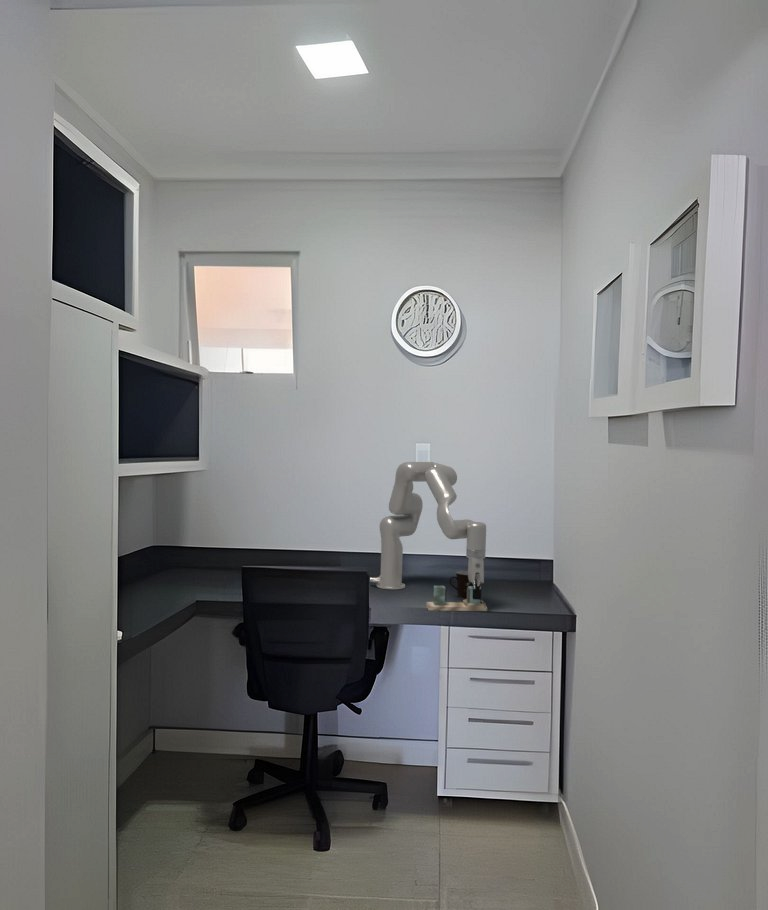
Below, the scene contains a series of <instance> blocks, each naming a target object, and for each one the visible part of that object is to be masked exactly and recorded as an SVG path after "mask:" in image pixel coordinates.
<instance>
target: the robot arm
mask: <svg viewBox="0 0 768 910" xmlns="http://www.w3.org/2000/svg"><path fill="white" fill-rule="evenodd" d="M457 474H458V473H457V472H456V470H455V469H454V468H453V467H452V466H449V465H445V464H440V463H438V462H433V461H407V462H401V464H399V465H398V466H397V468H396V471H395V479H394V485H393V487H392V492H391V495H390V498H389V503H388V511H389V512H390V513H391V514H393V515H388V516H385V517H383V518H382V519H381V520H380V523H379V533H380V540H381V541H380V543H381V544H380V545H381V547H380V549H381V550H380V552H381V553H380V575H379V576H376V577H373V576H372V577H369V582H370V583H371V582H372V583H376V587H377V588H379V589H383V590H402V589H405V588H406V584H405V583H402V582H403V558H404V557H403V556H404V555H403V551H404V549H403V548H404V547H403V543H402V541H401V539H400V537H410V536H412V535H414V534H415V532H416V531H417V529H418V524H419V521H420V518H421V515H422V512H423V511H422V510H423V499H422V497H421V495H420V494H418V493H415V492H413V491H414V482H418V483H419V482H420V483H421V482H426V484H427V486H428V488H429V490H430V491H431V494H432V495H433V497H434V500H435V501H436V503H437V508H436V521H437V524H438V525H439V529H441V532H442V533H443V534H444V536H445V537H446V538H447V539H449V540H459V539H466V553H465V555H466V556H465V557H466V558H468V565H467V571H468V579H469V584H468V586H473V587H474V589H473V599H478V600H482V586H481V585H482V584H484V583H485V570H484V569H485V565H484V564H485V562H484V559H486V551H487V550H486V545H487V525H486V524H487V523H484V522H480V521H474V520H471V519H453V518H452V515H451V514H450V511H449V506H451V505H452V504H453V503H455V501H456V500H457V497H458V495H457V493H456V491H455V490H454V487H453V486H454V485H456V483H457V480H458V475H457Z"/></svg>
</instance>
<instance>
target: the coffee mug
mask: <svg viewBox="0 0 768 910" xmlns="http://www.w3.org/2000/svg"><path fill="white" fill-rule="evenodd" d="M455 573H456V574H455V576H451V577H450V578H449V584H450V586H451V587H452V588H454V589H455V590H457V597H459V598H463V599H467V588H468V584H469V579H468V570H460V571H459V570H458V571H456V572H455ZM453 579H456V586H457V587H456V586H454V585H453V583H452V580H453Z"/></svg>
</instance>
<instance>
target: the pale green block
mask: <svg viewBox="0 0 768 910" xmlns="http://www.w3.org/2000/svg"><path fill="white" fill-rule="evenodd" d="M473 589H474V587H473V586H468V588H467V598H466V600H467V601H468V604H480V600H481V599H480V600H478V599H473Z"/></svg>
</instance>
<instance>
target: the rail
mask: <svg viewBox="0 0 768 910" xmlns="http://www.w3.org/2000/svg"><path fill="white" fill-rule="evenodd" d="M447 589H448V588H447V587H446V586H445V585H433V599H432V601H426V602H425V603H426V604H425V605H426V608H427V609H428V611H448V612H449V611H450V612H451V611H454V612H458V611H459V612H460V611H461V612H488V607H487V604H486V603H485V601H484V600H483V599H480V604H468V601H467V599H462V602H461V601H459V602H454V601H453V602H452V601H450V602H447V592H448V591H447Z"/></svg>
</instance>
